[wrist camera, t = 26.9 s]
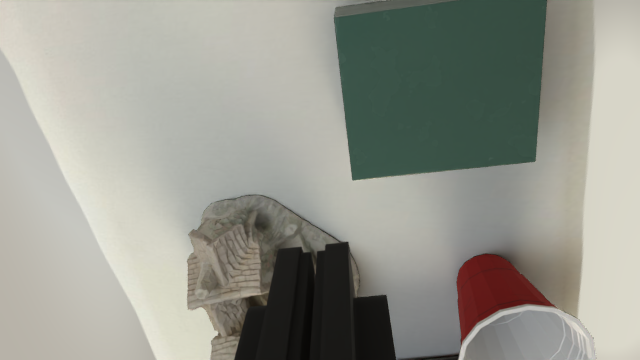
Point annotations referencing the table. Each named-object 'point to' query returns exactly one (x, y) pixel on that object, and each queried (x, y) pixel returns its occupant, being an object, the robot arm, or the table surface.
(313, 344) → the robot arm
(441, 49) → the lid
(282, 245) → the ceramic cottage
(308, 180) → the table surface
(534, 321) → the plastic cup
